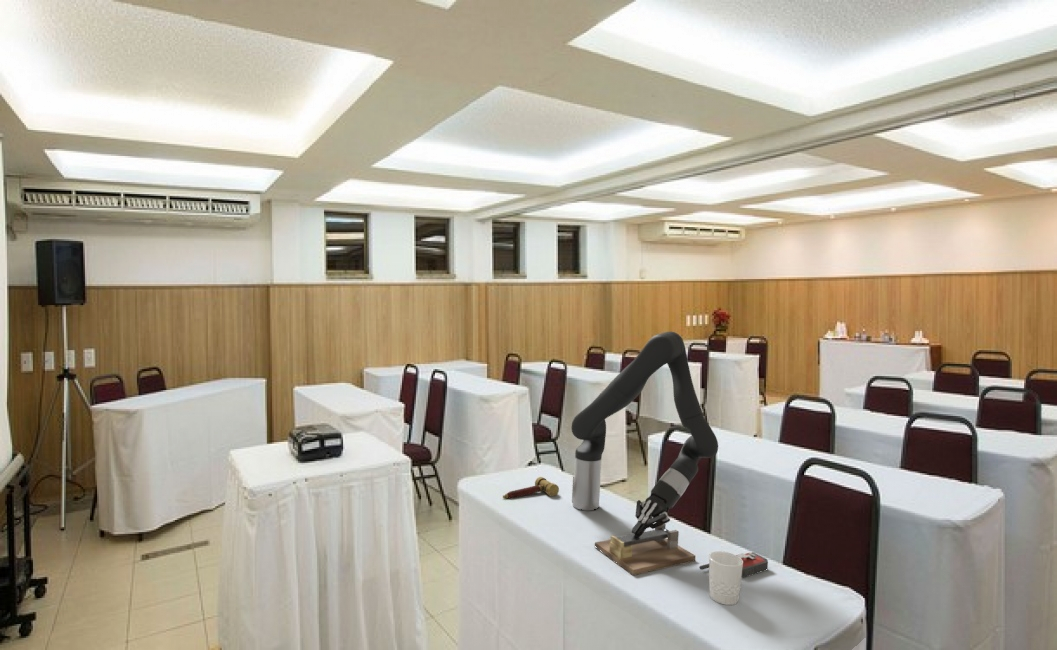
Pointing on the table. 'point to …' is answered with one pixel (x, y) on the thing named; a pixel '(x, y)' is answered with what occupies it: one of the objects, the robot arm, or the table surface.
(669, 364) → the robot arm
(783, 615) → the table surface
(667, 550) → the latch board
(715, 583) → the white cup
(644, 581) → the table surface
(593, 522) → the table surface
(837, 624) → the table surface
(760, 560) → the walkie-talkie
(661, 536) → the strap
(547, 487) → the gavel
